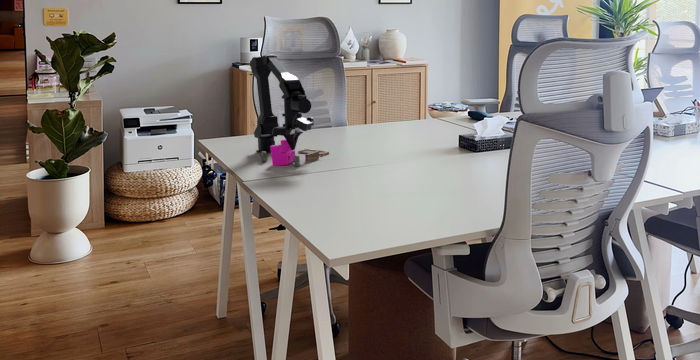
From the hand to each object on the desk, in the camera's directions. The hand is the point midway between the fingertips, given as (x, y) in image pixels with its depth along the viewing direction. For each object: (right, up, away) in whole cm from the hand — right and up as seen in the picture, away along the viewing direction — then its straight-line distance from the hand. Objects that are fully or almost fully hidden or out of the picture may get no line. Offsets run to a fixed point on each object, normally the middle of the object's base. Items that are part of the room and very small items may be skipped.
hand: (293, 149), depth 290 cm
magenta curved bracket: (-3, -5, -1) cm, 5 cm away
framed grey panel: (+2, -3, +4) cm, 6 cm away
